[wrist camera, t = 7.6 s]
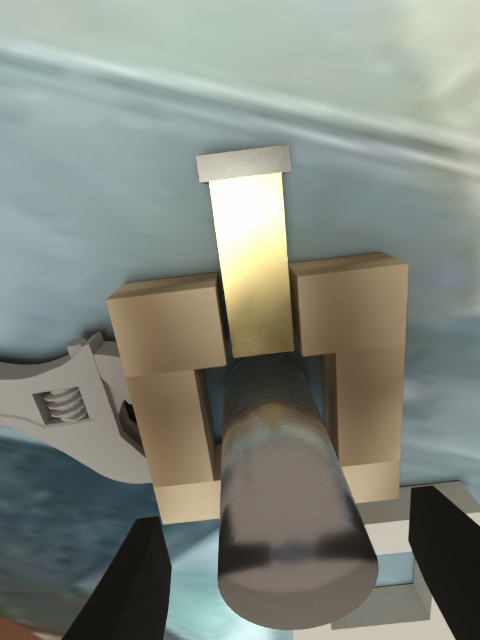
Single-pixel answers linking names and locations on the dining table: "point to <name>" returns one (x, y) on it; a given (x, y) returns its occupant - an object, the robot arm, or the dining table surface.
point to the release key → (252, 245)
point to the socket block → (312, 339)
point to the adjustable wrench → (78, 408)
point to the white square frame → (401, 600)
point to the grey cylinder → (286, 505)
